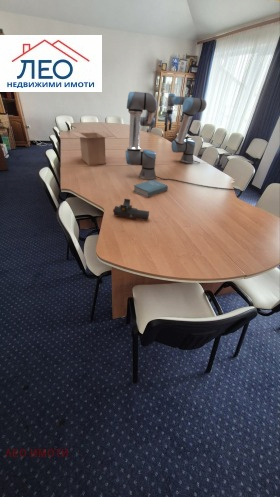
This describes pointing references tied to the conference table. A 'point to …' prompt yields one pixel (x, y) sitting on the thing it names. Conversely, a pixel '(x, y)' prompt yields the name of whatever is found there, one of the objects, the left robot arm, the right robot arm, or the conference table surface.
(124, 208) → the laser sight
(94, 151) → the box
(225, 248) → the conference table surface
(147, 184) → the book
